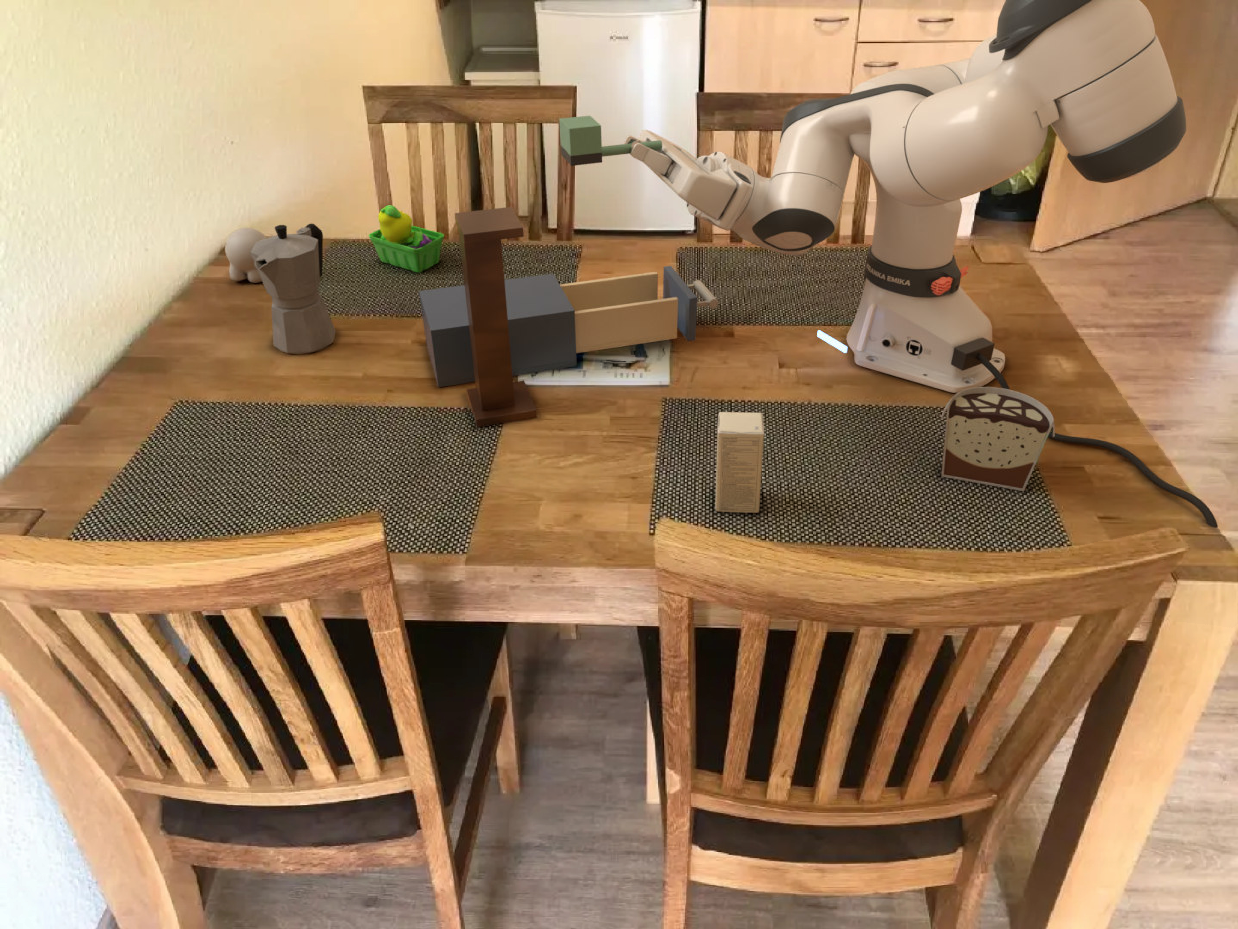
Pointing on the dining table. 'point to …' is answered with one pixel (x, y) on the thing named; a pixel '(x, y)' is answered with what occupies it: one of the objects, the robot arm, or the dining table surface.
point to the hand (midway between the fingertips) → (629, 144)
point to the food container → (994, 436)
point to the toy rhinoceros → (243, 254)
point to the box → (739, 462)
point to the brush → (590, 142)
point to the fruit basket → (405, 241)
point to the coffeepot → (295, 288)
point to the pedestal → (490, 317)
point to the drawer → (634, 309)
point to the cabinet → (533, 323)
